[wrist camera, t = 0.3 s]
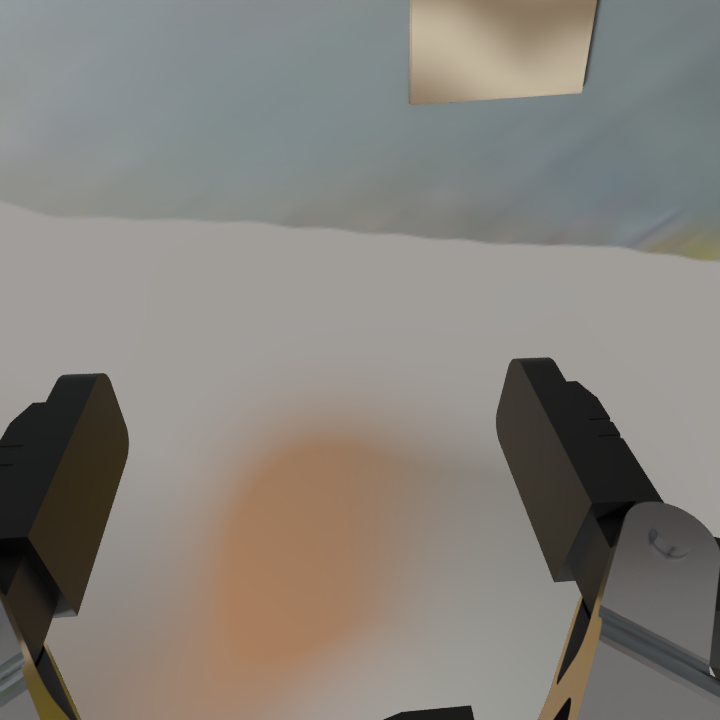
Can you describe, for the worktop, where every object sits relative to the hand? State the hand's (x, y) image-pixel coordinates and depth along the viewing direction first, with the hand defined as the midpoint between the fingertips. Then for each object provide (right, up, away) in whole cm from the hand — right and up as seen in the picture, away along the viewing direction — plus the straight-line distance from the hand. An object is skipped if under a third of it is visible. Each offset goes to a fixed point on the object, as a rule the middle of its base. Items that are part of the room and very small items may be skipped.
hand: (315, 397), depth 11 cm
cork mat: (+9, +22, +20) cm, 31 cm away
